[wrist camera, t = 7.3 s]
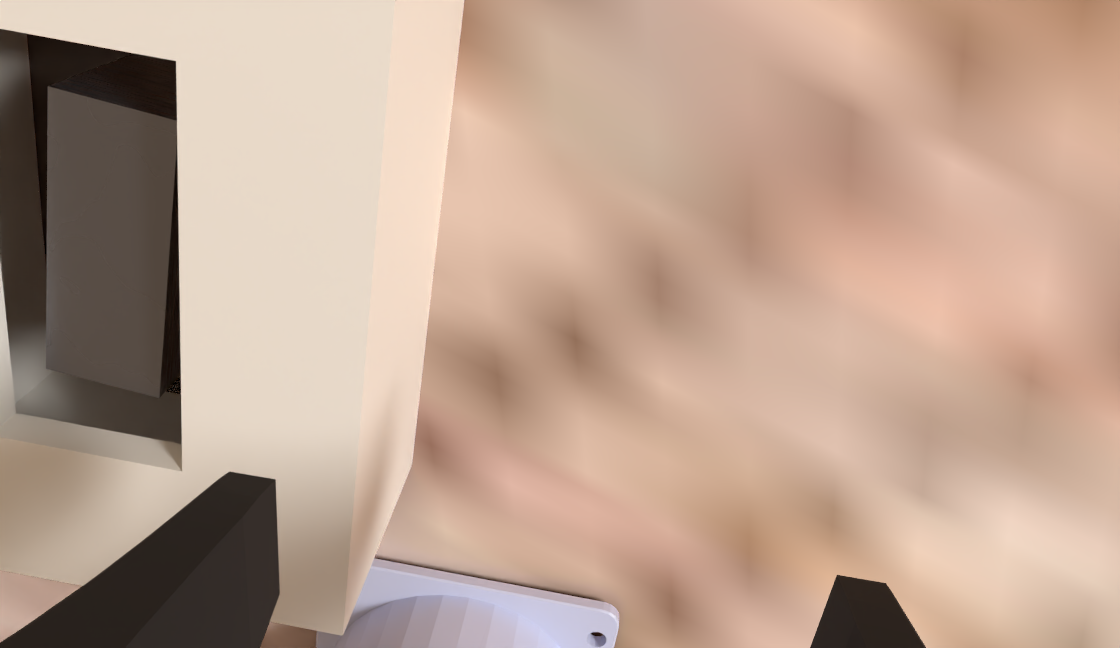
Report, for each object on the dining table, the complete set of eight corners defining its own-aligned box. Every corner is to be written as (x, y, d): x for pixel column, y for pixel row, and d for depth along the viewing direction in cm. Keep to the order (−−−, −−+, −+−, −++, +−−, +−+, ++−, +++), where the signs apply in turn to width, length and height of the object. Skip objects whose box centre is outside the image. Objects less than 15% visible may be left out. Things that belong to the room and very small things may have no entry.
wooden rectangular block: (257, 291, 23) (159, 398, 18) (165, 267, 23) (46, 368, 18) (283, 62, 21) (178, 120, 16) (181, 35, 20) (47, 86, 16)
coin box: (412, 464, 25) (343, 635, 19) (25, 391, 25) (-151, 541, 19) (480, -142, 18) (406, -140, 13) (-36, -235, 18) (-321, -272, 13)
